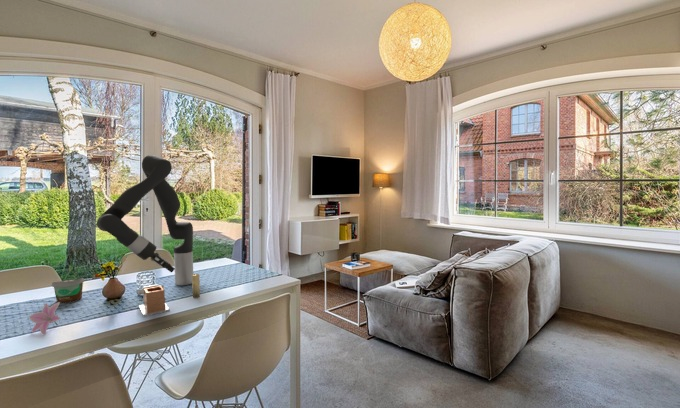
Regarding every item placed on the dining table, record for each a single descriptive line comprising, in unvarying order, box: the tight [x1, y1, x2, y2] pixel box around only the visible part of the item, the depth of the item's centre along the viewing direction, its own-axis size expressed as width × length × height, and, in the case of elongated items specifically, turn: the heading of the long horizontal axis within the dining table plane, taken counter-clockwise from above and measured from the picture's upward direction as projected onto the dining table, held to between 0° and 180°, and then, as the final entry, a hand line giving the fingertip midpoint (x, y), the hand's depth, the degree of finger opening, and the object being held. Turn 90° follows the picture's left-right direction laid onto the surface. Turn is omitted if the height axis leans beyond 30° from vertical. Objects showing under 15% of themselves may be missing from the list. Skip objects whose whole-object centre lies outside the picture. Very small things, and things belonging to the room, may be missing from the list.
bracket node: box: [137, 283, 171, 317], centre depth 152 cm, size 13×10×10 cm
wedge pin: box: [191, 273, 201, 299], centre depth 167 cm, size 3×3×11 cm
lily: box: [28, 302, 61, 335], centre depth 132 cm, size 12×12×10 cm
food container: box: [51, 277, 85, 304], centre depth 161 cm, size 12×6×10 cm, turn 117°
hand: (171, 268), depth 160 cm, fingers open, 8 cm apart
